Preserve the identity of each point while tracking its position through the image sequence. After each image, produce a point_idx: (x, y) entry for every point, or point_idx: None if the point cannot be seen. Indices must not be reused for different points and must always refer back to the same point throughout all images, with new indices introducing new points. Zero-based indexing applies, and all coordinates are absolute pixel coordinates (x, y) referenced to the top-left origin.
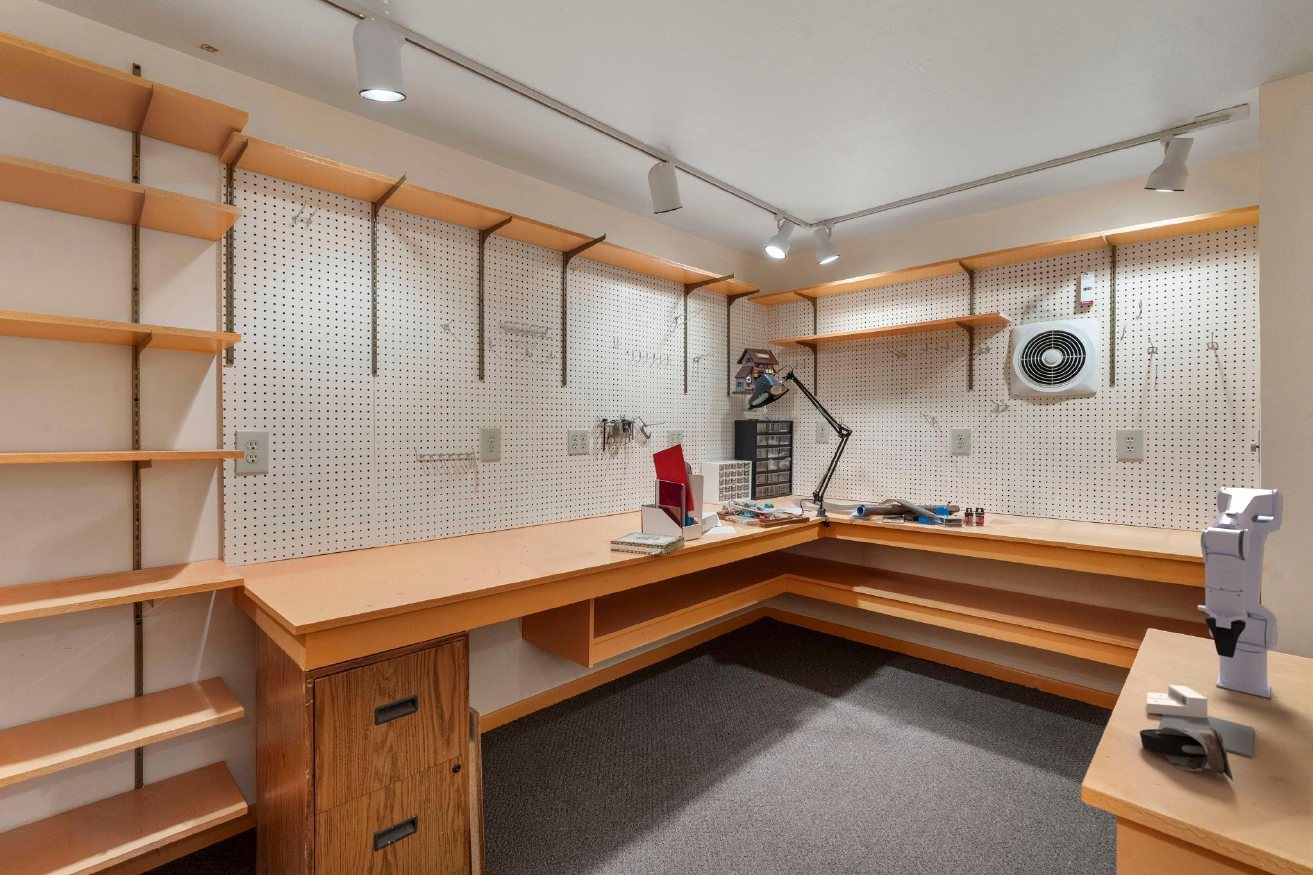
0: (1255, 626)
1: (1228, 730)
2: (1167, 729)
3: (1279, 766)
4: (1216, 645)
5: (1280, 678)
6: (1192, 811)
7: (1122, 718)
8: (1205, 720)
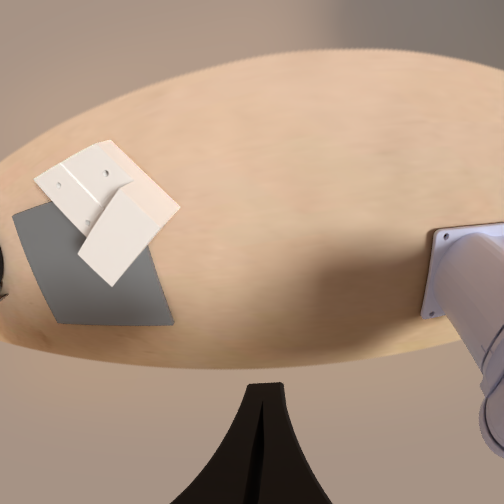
0: None
1: (109, 296)
2: None
3: (72, 342)
4: (234, 421)
5: None
6: None
7: (9, 156)
8: None
